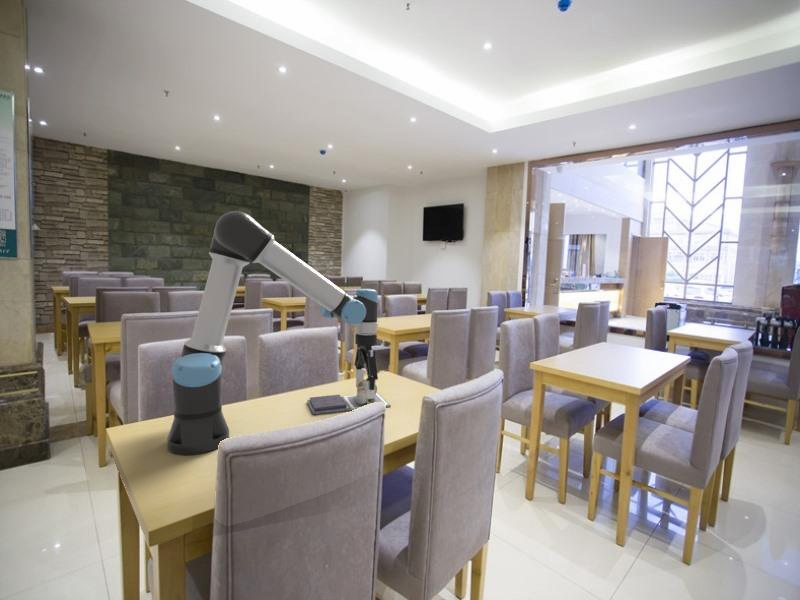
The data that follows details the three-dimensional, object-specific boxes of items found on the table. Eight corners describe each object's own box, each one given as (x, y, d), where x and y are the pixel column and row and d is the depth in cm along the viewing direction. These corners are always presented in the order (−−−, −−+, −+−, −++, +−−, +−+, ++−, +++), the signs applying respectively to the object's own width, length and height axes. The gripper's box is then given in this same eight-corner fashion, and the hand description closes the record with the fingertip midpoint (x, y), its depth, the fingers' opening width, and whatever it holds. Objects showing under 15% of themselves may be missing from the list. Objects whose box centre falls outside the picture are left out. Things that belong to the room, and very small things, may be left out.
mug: (349, 406, 140) (349, 377, 144) (362, 410, 148) (362, 383, 152) (369, 403, 138) (368, 374, 142) (381, 408, 146) (380, 380, 150)
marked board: (351, 411, 137) (351, 409, 136) (341, 398, 150) (341, 396, 149) (390, 406, 142) (390, 404, 142) (377, 394, 155) (377, 392, 155)
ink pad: (313, 414, 133) (313, 408, 133) (307, 402, 144) (307, 397, 144) (349, 410, 137) (349, 404, 137) (340, 399, 148) (340, 393, 148)
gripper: (388, 339, 133) (386, 402, 135) (366, 327, 156) (365, 381, 158) (366, 340, 130) (364, 405, 132) (346, 327, 153) (346, 383, 155)
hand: (365, 392), depth 145 cm, fingers open, 13 cm apart
